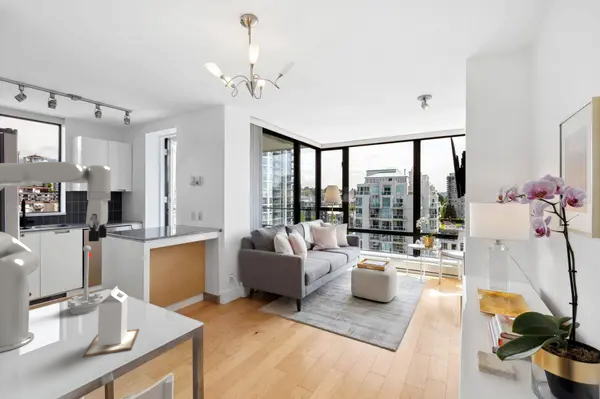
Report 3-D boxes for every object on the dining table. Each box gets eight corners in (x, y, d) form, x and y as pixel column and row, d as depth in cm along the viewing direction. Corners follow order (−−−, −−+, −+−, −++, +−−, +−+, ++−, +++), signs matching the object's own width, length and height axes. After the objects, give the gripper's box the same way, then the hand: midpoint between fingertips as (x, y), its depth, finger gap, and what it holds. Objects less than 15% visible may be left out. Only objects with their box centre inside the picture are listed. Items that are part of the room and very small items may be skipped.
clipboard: (82, 357, 90) (82, 353, 90) (97, 336, 104) (97, 332, 104) (131, 349, 95) (131, 346, 95) (139, 330, 109) (139, 327, 109)
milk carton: (97, 346, 95) (98, 292, 95) (105, 336, 102) (106, 286, 102) (120, 344, 97) (122, 291, 97) (127, 334, 104) (128, 285, 104)
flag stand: (94, 313, 124) (96, 247, 124) (60, 315, 121) (62, 248, 121) (107, 303, 136) (109, 243, 136) (77, 304, 133) (78, 243, 133)
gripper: (94, 196, 115) (93, 236, 115) (79, 196, 99) (77, 243, 99) (115, 196, 118) (114, 236, 118) (103, 196, 102) (102, 242, 102)
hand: (97, 239), depth 109 cm, fingers open, 9 cm apart
